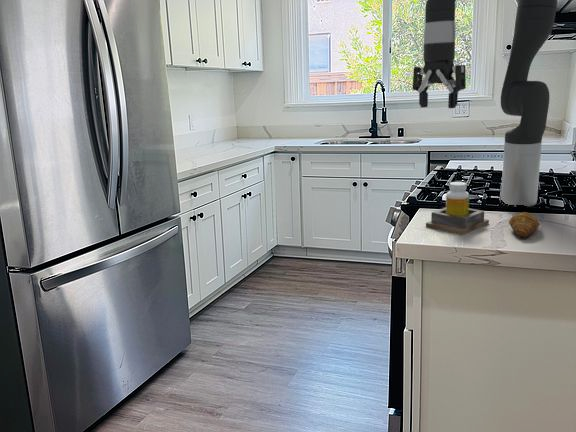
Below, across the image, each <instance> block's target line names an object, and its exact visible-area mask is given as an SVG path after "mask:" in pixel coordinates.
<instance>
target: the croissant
mask: <svg viewBox="0 0 576 432" xmlns="http://www.w3.org/2000/svg"><path fill="white" fill-rule="evenodd" d="M508 224H509V226H510V227H511V229H512V231H513V233H514V234H515V236H516V237H517V238H519V239H522V240H524V239H525V240H526V239H529V238H530V237H532V236H533V234H534V233H535V232H536V230H537V229H538V228H539V227H540V225H541V224H540V222H539V220H538V218H537V217H536V216H535V215H534V214H531V213H530V212H526V211H523V212H519V213H515V214H513V215H512V216H511V218H510V219H509V221H508Z"/></svg>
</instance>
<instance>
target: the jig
mask: <svg viewBox="0 0 576 432" xmlns="http://www.w3.org/2000/svg"><path fill="white" fill-rule="evenodd" d="M430 218H431V221H428V222H426V223H425V227H426V228H429V229H433V230H437V231H441V232H446V233H448V234H449V233H450V234H454V235H458V236H463V235H466V234H468V233H470V232H473V231H475V230H477V229H480V228H482V227H484V226H486V225H489V222H490V219H485V211H484V210H481V209H476V208H475V209H474V208H470V207H469V212H468V215H467V216H464V217H458V216H453V215H449V214H446V207H444V208H439V209H437V210H434V211H431V217H430Z"/></svg>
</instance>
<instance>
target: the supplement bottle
mask: <svg viewBox="0 0 576 432" xmlns="http://www.w3.org/2000/svg"><path fill="white" fill-rule="evenodd" d="M448 188H449V191H447V192H446V198H445V208H446V214H449V215H453V216H458V217H464V216H467V215H468V212H469V208H470V194H469V192H468V191H466V190H467V183H466V182H463V181H451V182H449V187H448Z"/></svg>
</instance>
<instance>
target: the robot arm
mask: <svg viewBox="0 0 576 432" xmlns="http://www.w3.org/2000/svg"><path fill="white" fill-rule="evenodd" d="M456 2H457V1H456V0H426V4H425V10H424V11H425V15H424V17H425V18H424V22H425V23H424V30H423V60H422V61H423V62H424V66H423V65H422V66H419V65H418V66H414V67H413V74H412V75H413V76H412V90H413V91H417V92H418V95H419V97H418V105H420V108H428V105H429V103H428V102H429V93H428V91H429V90H430V87H431V86H433V84H443V85H444V87H446V88H447V90H448V92H449V93H448V104H447V105H448V107H447V108H448V109H455V108H457V106H458V99H459V97H458V96H459V92H460V91H464V90H466V87H467V86H466V84H467V83H466V65H465V64H457V65H454V60H455V56H456V54H455V53H456V52H455V51H456V22H455V20H456ZM557 7H558V0H518V3H517V7H516V13H515V15H516V16H515V22H514V30H513V38H512V43H511V49H510V53H509V54H510V55H509V59H508V60H509V61H508V62H507V63H508V65H507V68H506V72H505V76H504V80H503V83H502V87H501V93H500V108H501V111H502V112H503V113H504V114H505V115H508V116H514V117H520V122H519V124H518V126H516V127H514V128H511V129H509V130H507V131H506V132H505V133H504V143H503V144H504V145H503V146H504V147H503V160H502V161H503V162H502V176H501V177H502V178H501V180H502V181H501V189H500V190H501V191H500V201H501V200H502V201H503V202H504V203H505V204H508V205H507V206H509V205H514V206H513V207H517V206H516V205H524V206H527V207H533V206H535V205H537V201H538V195H539V194H538V193H539V183H540V182H539V180H540V167H541V165H540V164H541V154H542V141H543V137H544V136H543V135H544V134H545V130H546V126H547V120H548V112H549V106H550V90H549V87H548V85H547V83H545V82H544V81H540V80H528V77H529V72H530V69H531V66H532V65H531V64H532V63H533V60H534V59H535V57H536V55H537V53H539V51H540V50H541V48H542V47H543V45H544V44H545V43H546V41H547V40H548V38H549V36H550V35H551V33H552V31H553V29H554V24H555V18H556V13H557ZM453 73H454V74H455V78H454V76H453ZM423 75H425V76H424V78H423ZM505 204H504V205H505Z"/></svg>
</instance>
